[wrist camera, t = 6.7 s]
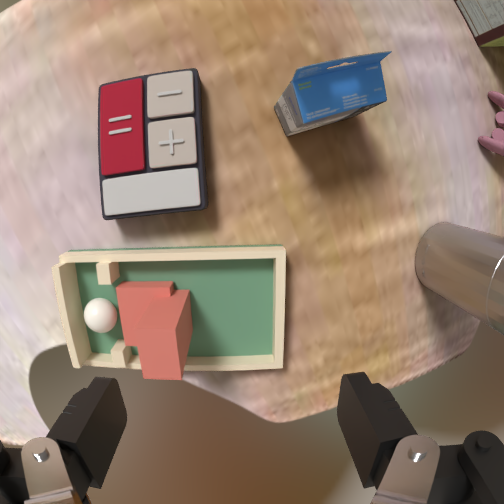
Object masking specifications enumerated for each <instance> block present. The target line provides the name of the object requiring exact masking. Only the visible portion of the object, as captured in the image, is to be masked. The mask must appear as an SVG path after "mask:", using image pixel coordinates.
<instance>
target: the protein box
mask: <svg viewBox="0 0 504 504" xmlns="http://www.w3.org/2000/svg"><path fill="white" fill-rule="evenodd" d="M454 1H455V3H456V4H457V6H458V8H459V10H460V11H461V13H462V15H463V17H464V19H465V20H466V22H467V24H468V26H469V28H470V30H471V32H472V34H473V36H474V38H475V40H476V42H477V44H478V46H479V47H489V46H504V0H454Z"/></svg>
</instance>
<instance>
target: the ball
mask: <svg viewBox="0 0 504 504" xmlns="http://www.w3.org/2000/svg"><path fill="white" fill-rule="evenodd" d="M84 319H85V322H86V324H87V326H88V327H89V328H90V329H91V330H93V331H95V332H98V333H105V332H108V331H110V330H111V329H112V328H113V327H114V326H115V324H116V322H117V311H116V308H115V306H114V305H113V304H112V303H111V302H110V301H109V300H107V299H104V298H95V299H93V300H91V301H90V302H89V303H88V304H87V305H86V307H85V310H84Z"/></svg>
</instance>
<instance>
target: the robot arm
mask: <svg viewBox="0 0 504 504" xmlns="http://www.w3.org/2000/svg"><path fill="white" fill-rule="evenodd" d="M415 267H416V273H417V276H418V278H419V280H420V281H421V283H422V284H423V285H424V286H425V287H427V288H429V289H430V290H432V291H434V292H435V293H437V294H439V295H440V296H442V297H443V298H445V299H447V300H448V301H450V302H452V303H453V304H455V305H457V306H458V307H460V308H461V309H463V310H465V311H466V312H468V313H470V314H471V315H473V316H474V317H476V318H477V319H479V320H481V321H482V322H484V323H486V324H487V325H488V326H490V327H492V328H493V329H495V330H497V331H498V332H500V333H501V334H503V335H504V237H501V236H497V235H493V234H490V233H486V232H482V231H478V230H475V229H471V228H467V227H463V226H459V225H455V224H451V223H444V222H443V223H438V224H436V225H434V226H432V227H431V228H430V229H429V230H428V231H427V232H426V233H425V234H424V235H423V237H422V239H421V241H420V242H419V245H418V248H417V251H416V257H415ZM337 416H338V422H339V425H340V427H341V430H342V432H343V435H344V438H345V440H346V443H347V445H348V448H349V451H350V453H351V456H352V458H353V461H354V463H355V466H356V468H357V471H358V474H359V477H360V479H361V482H362V485H363V487H364V488H368V487H372V486H375V488H376V490H377V492H376V494H375V495H374V497H373V499H372V501H371V503H370V504H504V445H503V443H502V442H501V441H500V440H499V438H498V437H497V436H496V435H494V434H492V433H490V432H487V431H476V432H473V433H471V434H469V435H468V436H467V437H466V438H465V440H464V443H463V444H460V445H449V446H439V445H438V444H437V443H436V442H435V441H434V440H433V439H432V438H430V437H427V436H424V435H418V434H417V433H416V431H415V429H414V428H413V426H412V424H411V423H410V421H409V420H408V418H407V417H406V415H405V414H404V412H403V411H402V409H400V406H399V404H398V403H397V402H396V401H395V398H394V397H393V396H392V394H391V392H390V391H389V390H388V389H387V388H385V387H384V386H382V385H381V384H379V383H375V384H372V383H371V382H370V380H369V378H368V377H367V375H366V374H365V372H358V373H351V374H344V375H343V376H342V379H341V386H340V393H339V399H338V406H337ZM126 422H127V413H126V408H125V405H124V402H123V398H122V395H121V391H120V388H119V384H118V382H117V380H116V379H115V378H105V377H95V378H94V379H93V381H92V382H91V384H90V385H89V387H88V388H87V389H86V388H83V389H82V390H80V391H79V392H77V393H76V394H75V395H73V397H72V398H71V400H70V401H69V403H68V406H66V408H65V409H64V410H63V413H62V414H61V415H60V416H59V418H58V419H57V421H56V422H55V424H54V425H53V427H52V429H51V430H50V431H49V433H48V434H47V436H46V437H39V438H34V439H32V440H30V441H28V442H27V443H26V444H25V445H24V446H23V448H22V449H20V448H18V449H17V448H5V447H4V446H3V444H2V442H1V441H0V504H92V502H91V500H90V498H89V496H88V494H87V490H88V488H89V486H90V487H94V488H99V489H101V487H102V484H103V482H104V479H105V476H106V474H107V471H108V469H109V466H110V464H111V461H112V459H113V456H114V454H115V451H116V448H117V446H118V444H119V441H120V439H121V436H122V434H123V431H124V429H125V426H126Z"/></svg>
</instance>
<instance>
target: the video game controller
mask: <svg viewBox="0 0 504 504" xmlns="http://www.w3.org/2000/svg"><path fill="white" fill-rule="evenodd" d="M488 97H489V98H490V99H491V100H492V101H493V102H494V103H495V104H497V105H498V106H500V107H501V108H503V109H504V95H503V94H501V93H498V92H495V91H490V92H488ZM496 121H497V123H498V125H499V126H500V127H504V111H501V112H498V113H497V114H496ZM492 137H493V139H492V138H490V137H487V136H480V137H479V138H478V141H479V143H480V144H481V145H482V146H484V147H485V148H487V149H488V150H490V151H492V152H494V153H497V154H500V155H502V156H504V130H502V129H500V128H496V129H494V130H493V132H492Z"/></svg>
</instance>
